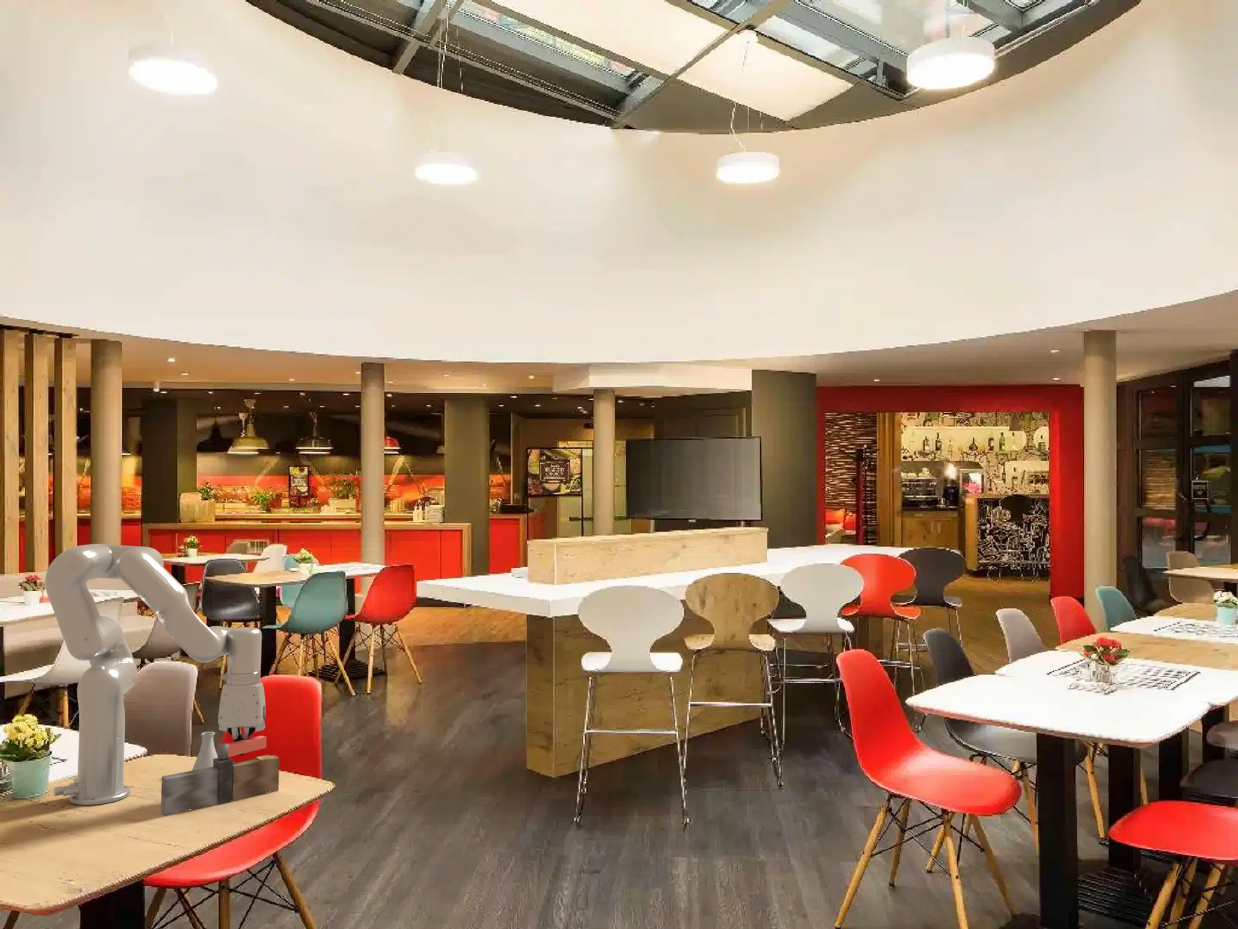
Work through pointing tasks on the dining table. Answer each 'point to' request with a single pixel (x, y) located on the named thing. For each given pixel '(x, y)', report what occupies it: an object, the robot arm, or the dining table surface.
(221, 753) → the swing bar
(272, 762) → the two-tone wood plank
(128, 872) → the dining table surface
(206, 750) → the flask
